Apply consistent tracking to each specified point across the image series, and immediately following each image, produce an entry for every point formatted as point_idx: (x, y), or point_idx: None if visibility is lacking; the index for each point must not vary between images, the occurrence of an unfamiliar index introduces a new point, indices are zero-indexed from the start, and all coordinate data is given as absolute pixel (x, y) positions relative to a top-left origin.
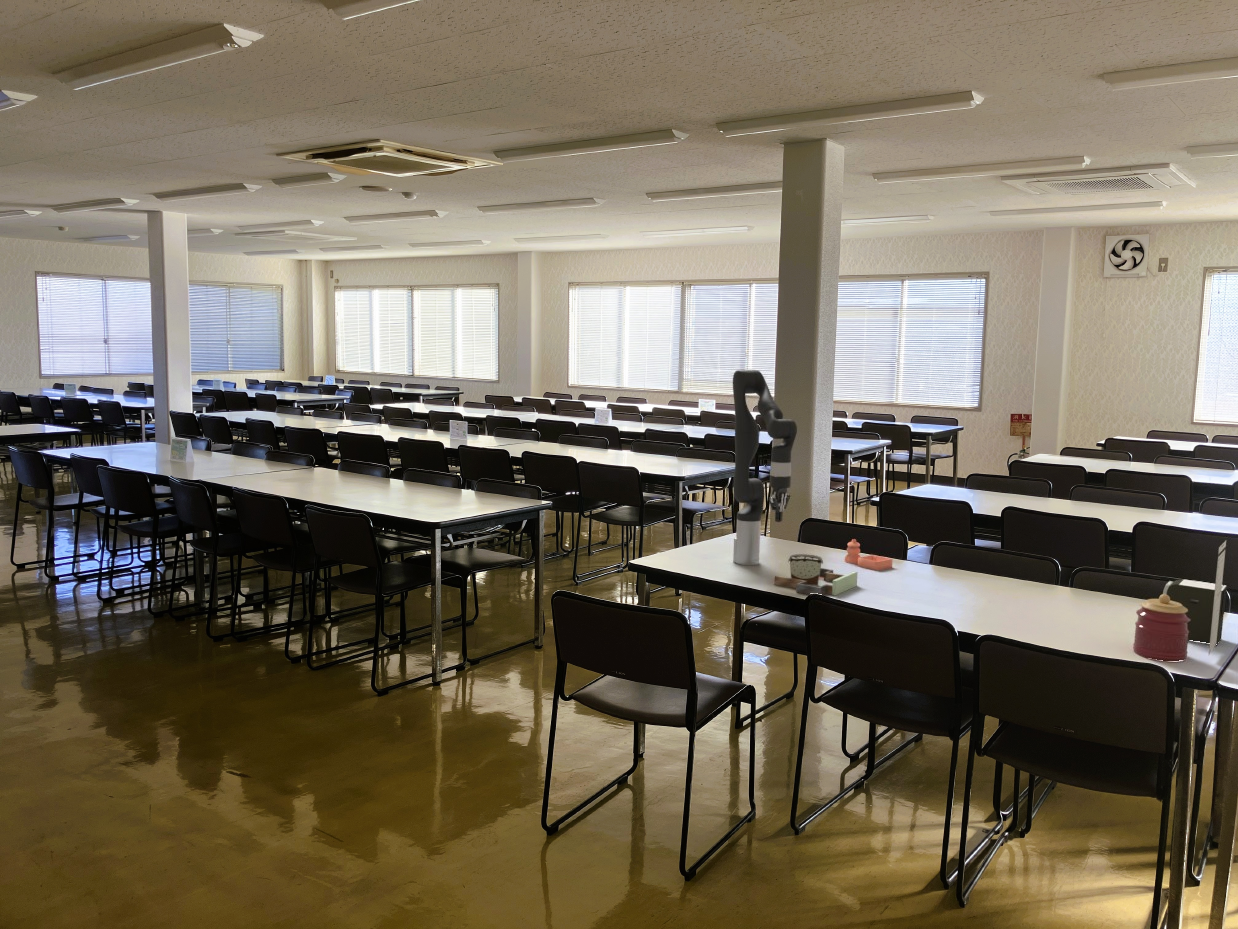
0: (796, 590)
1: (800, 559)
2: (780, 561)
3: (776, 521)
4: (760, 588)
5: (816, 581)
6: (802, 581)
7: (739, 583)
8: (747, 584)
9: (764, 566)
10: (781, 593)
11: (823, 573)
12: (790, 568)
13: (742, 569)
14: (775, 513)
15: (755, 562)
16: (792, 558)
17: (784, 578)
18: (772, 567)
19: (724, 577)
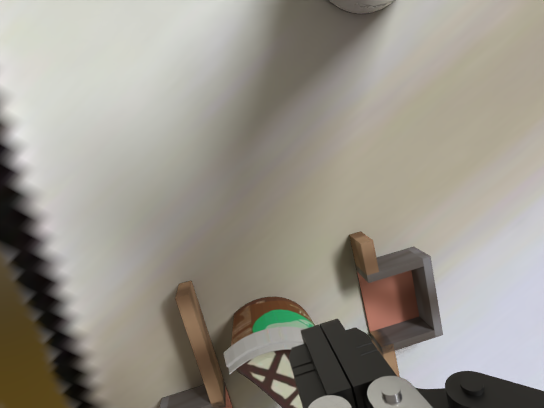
0: (160, 403)
1: (267, 393)
2: (504, 20)
3: (303, 339)
4: (86, 301)
5: None
6: (210, 399)
7: (65, 203)
8: (84, 232)
9: (380, 45)
10: (104, 385)
11: (421, 298)
12: (231, 344)
13: (259, 27)
14: (301, 400)
15: (361, 9)
16: (247, 367)
17: (188, 335)
18: (391, 80)
19: (78, 90)
